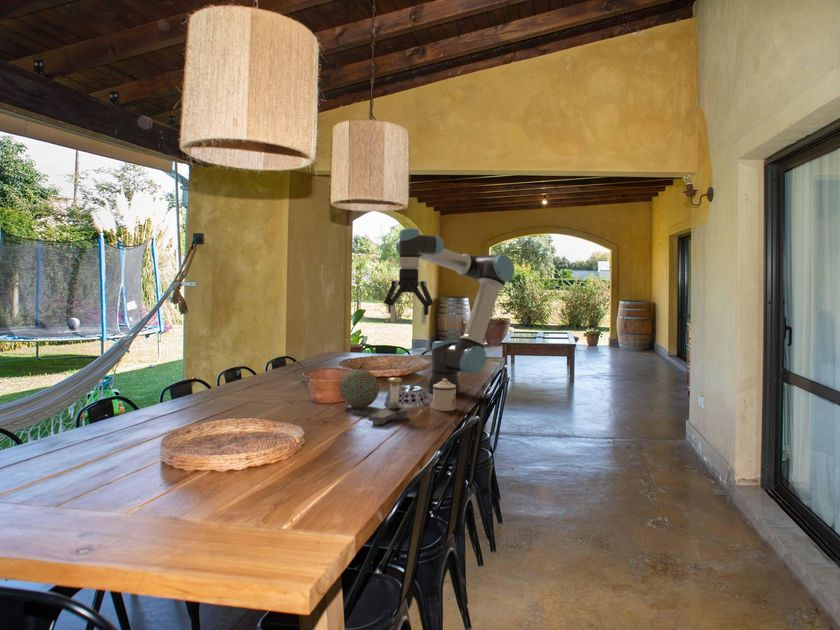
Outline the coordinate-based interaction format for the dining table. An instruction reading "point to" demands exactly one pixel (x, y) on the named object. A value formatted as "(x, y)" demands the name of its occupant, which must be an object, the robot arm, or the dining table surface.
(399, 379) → the pin
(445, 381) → the beige lidded jar
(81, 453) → the dining table surface
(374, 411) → the grey flat angular block
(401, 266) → the robot arm
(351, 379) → the decorative sphere
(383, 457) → the dining table surface
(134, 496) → the dining table surface
